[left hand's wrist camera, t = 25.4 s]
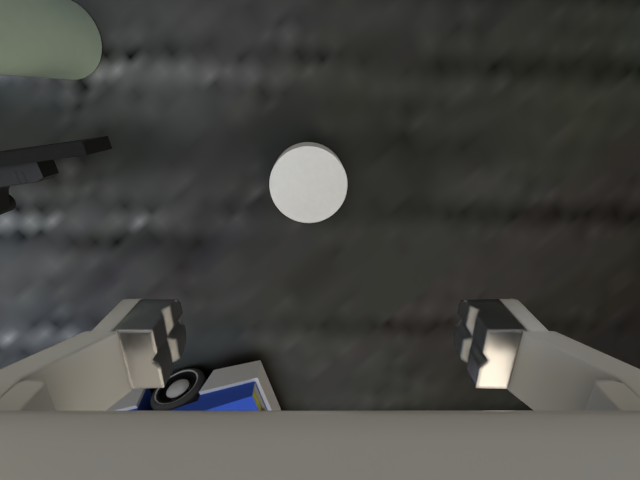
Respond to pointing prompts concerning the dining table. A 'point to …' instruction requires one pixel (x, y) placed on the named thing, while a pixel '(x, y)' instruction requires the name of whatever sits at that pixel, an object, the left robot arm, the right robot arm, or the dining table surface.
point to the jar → (47, 39)
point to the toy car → (207, 392)
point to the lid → (308, 182)
